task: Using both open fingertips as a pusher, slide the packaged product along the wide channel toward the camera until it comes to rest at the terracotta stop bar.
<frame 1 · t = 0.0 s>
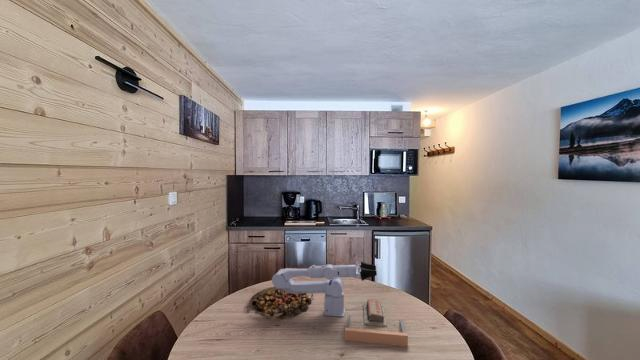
hand: (376, 270, 128), 22 cm above the table, tool horizontal, fingers open, 7 cm apart
packaged product: (374, 317, 129), on the table
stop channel: (375, 330, 116), on the table
food dish: (282, 304, 141), on the table
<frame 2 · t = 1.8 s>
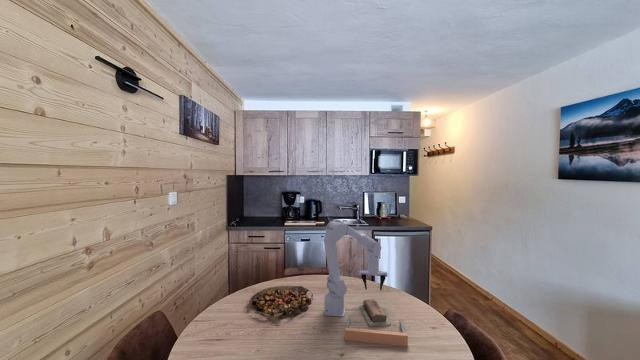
hand: (373, 289, 142), 7 cm above the table, tool pointing down, fingers open, 7 cm apart
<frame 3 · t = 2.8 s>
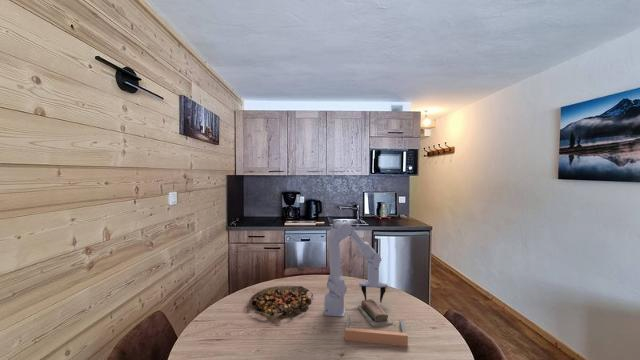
hand: (373, 301, 141), 1 cm above the table, tool pointing down, fingers open, 7 cm apart
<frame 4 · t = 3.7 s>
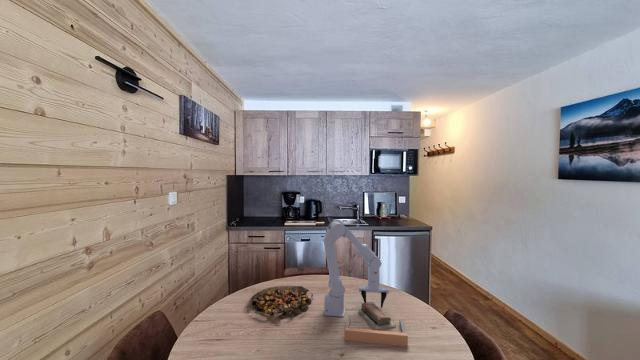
hand: (373, 306, 135), 1 cm above the table, tool pointing down, fingers open, 7 cm apart
packaged product: (375, 320, 125), on the table, touching gripper
everything else where it was.
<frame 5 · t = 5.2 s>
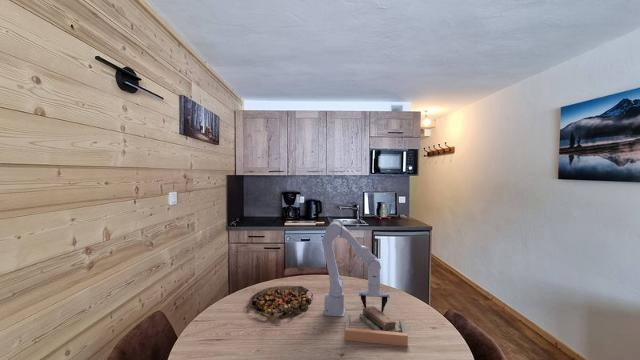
hand: (373, 311, 130), 1 cm above the table, tool pointing down, fingers open, 7 cm apart
packaged product: (379, 325, 121), on the table, touching gripper
everything else where it was.
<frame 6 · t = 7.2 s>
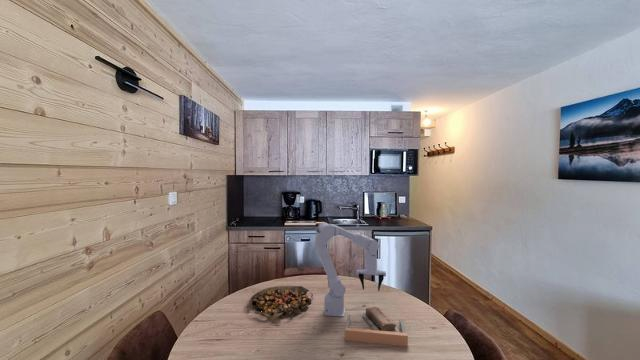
hand: (371, 289, 136), 9 cm above the table, tool pointing down, fingers open, 7 cm apart
packaged product: (380, 326, 121), on the table
everything else where it was.
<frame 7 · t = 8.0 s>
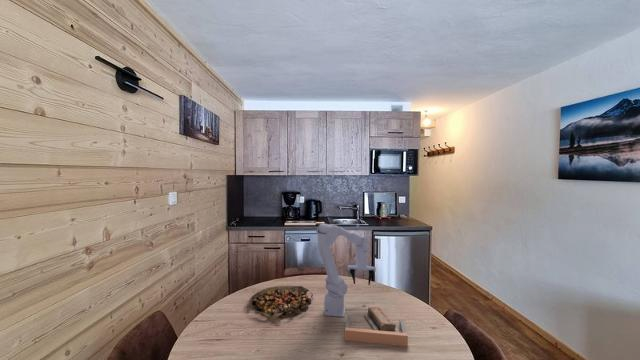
hand: (361, 283, 143), 9 cm above the table, tool pointing down, fingers open, 7 cm apart
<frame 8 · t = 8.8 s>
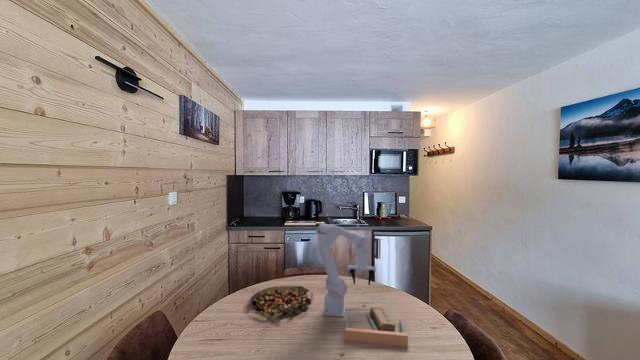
hand: (361, 283, 143), 9 cm above the table, tool pointing down, fingers open, 7 cm apart
at the end: packaged product inside the target area (4.3 cm from its centre), on the table; packaged product moved 8.3 cm from its start; packaged product on the table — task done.
